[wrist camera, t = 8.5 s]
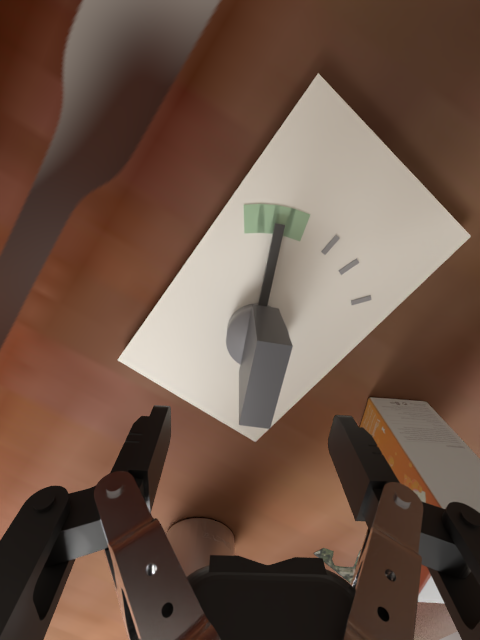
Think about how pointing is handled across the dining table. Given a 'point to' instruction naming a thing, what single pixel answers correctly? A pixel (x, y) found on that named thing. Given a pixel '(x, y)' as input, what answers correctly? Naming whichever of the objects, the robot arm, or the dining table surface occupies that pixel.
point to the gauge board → (298, 259)
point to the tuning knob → (260, 348)
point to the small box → (424, 460)
